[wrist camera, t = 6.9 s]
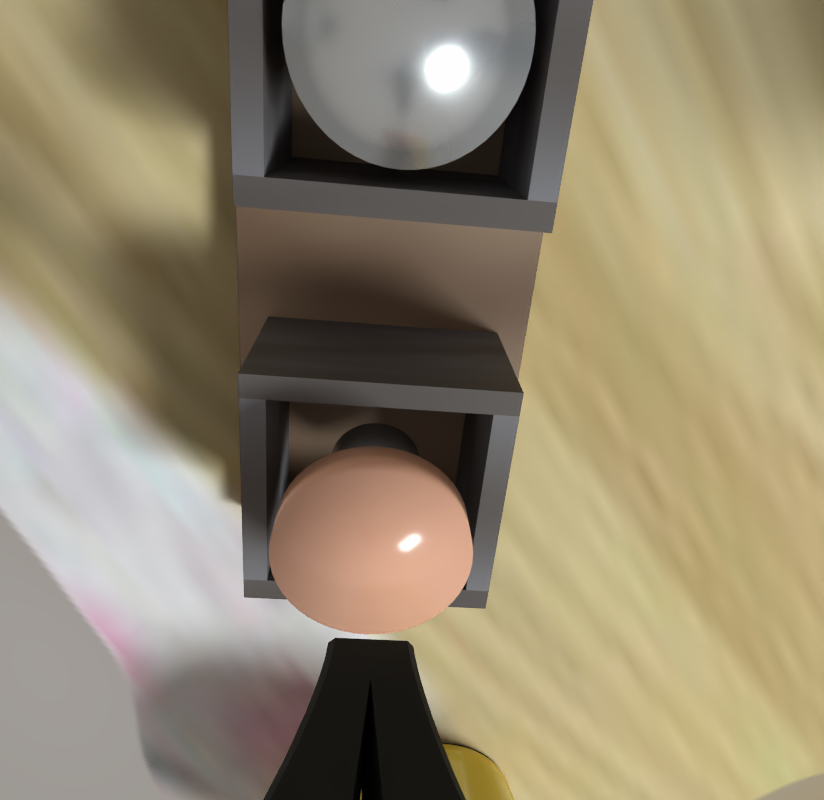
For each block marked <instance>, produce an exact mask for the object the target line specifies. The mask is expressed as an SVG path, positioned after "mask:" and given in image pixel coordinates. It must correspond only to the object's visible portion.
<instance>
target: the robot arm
mask: <svg viewBox="0 0 824 800" xmlns="http://www.w3.org/2000/svg"><path fill="white" fill-rule="evenodd" d="M361 791H362V800H466V798H465V796H464V794H463V792H462V790H461V787H460V785H459V783H458V781H457V778H456V776H455V774H454V771H453V769H452V767H451V764H450V761H449V759H448V756H447V754H446V751H445V749H444V746H443V744H442V741H441V739H440V736H439V734H438V731H437V728H436V726H435V723H434V720H433V717H432V714H431V711H430V708H429V705H428V702H427V699H426V696H425V693H424V690H423V686H422V683H421V680H420V676H419V672H418V668H417V664H416V659H415V654H414V648H413V646H412V645H411V644H410V643H409V642H408V641H394V640H371V639H348V638H335V639H333V640H332V641H330V642H329V643H328V647H327V652H326V656H325V660H324V663H323V667H322V670H321V673H320V676H319V679H318V682H317V685H316V688H315V690H314V693H313V696H312V698H311V701H310V703H309V706H308V708H307V711H306V713H305V715H304V718H303V720H302V722H301V724H300V726H299V729H298V731H297V733H296V735H295V738H294V740H293V742H292V744H291V746H290V749H289V751H288V753H287V755H286V757H285V759H284V761H283V763H282V765H281V767H280V769H279V771H278V773H277V775H276V777H275V778H274V780H273V782H272V784H271V786H270V788H269V790H268V792H267V794H266V796H265V798H264V800H360V795H361Z"/></svg>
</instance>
